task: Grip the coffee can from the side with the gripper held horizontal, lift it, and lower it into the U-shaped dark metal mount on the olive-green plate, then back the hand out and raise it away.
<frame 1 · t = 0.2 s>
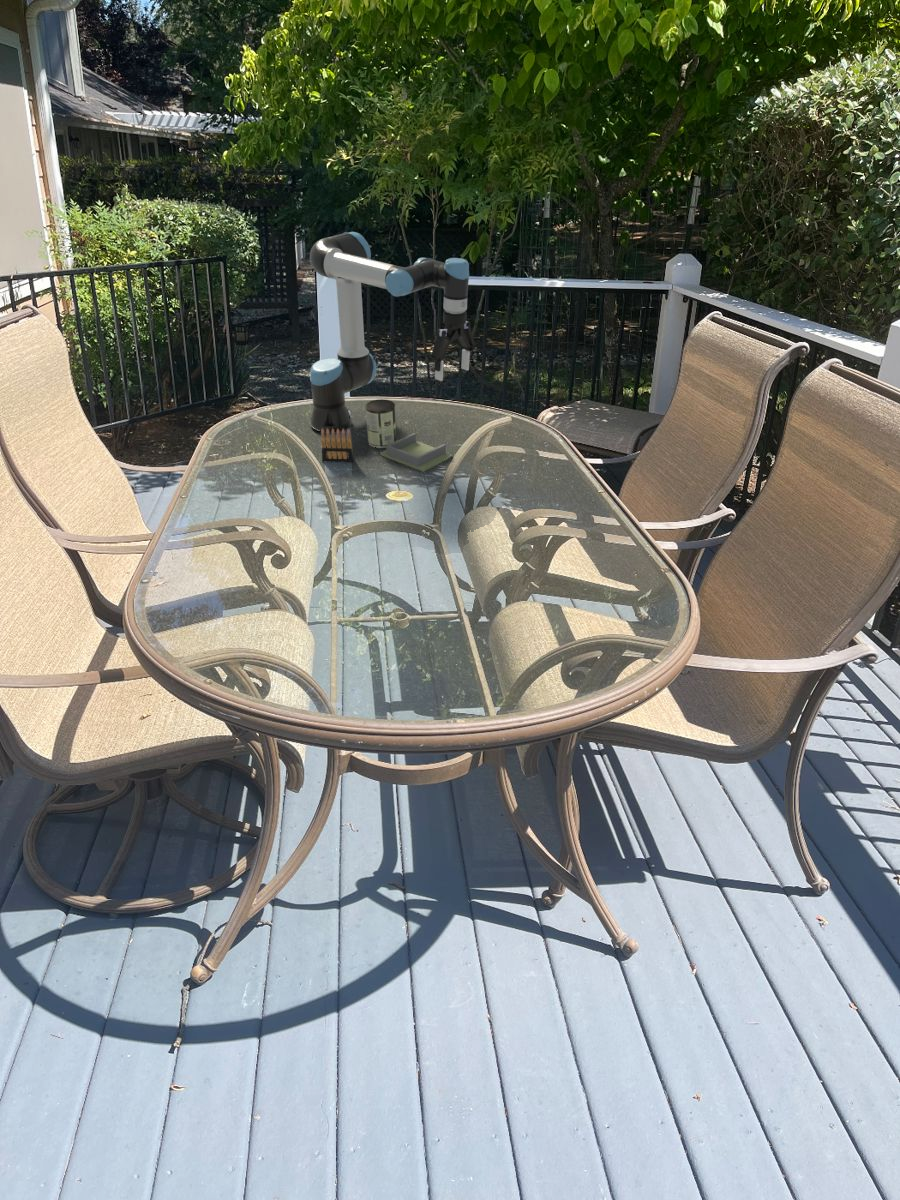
hand: (452, 374, 293), 27 cm above the table, tool pointing down, fingers open, 13 cm apart
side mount: (416, 455, 304), on the table
coffee can: (382, 442, 314), on the table
ammunition clip: (338, 461, 302), on the table
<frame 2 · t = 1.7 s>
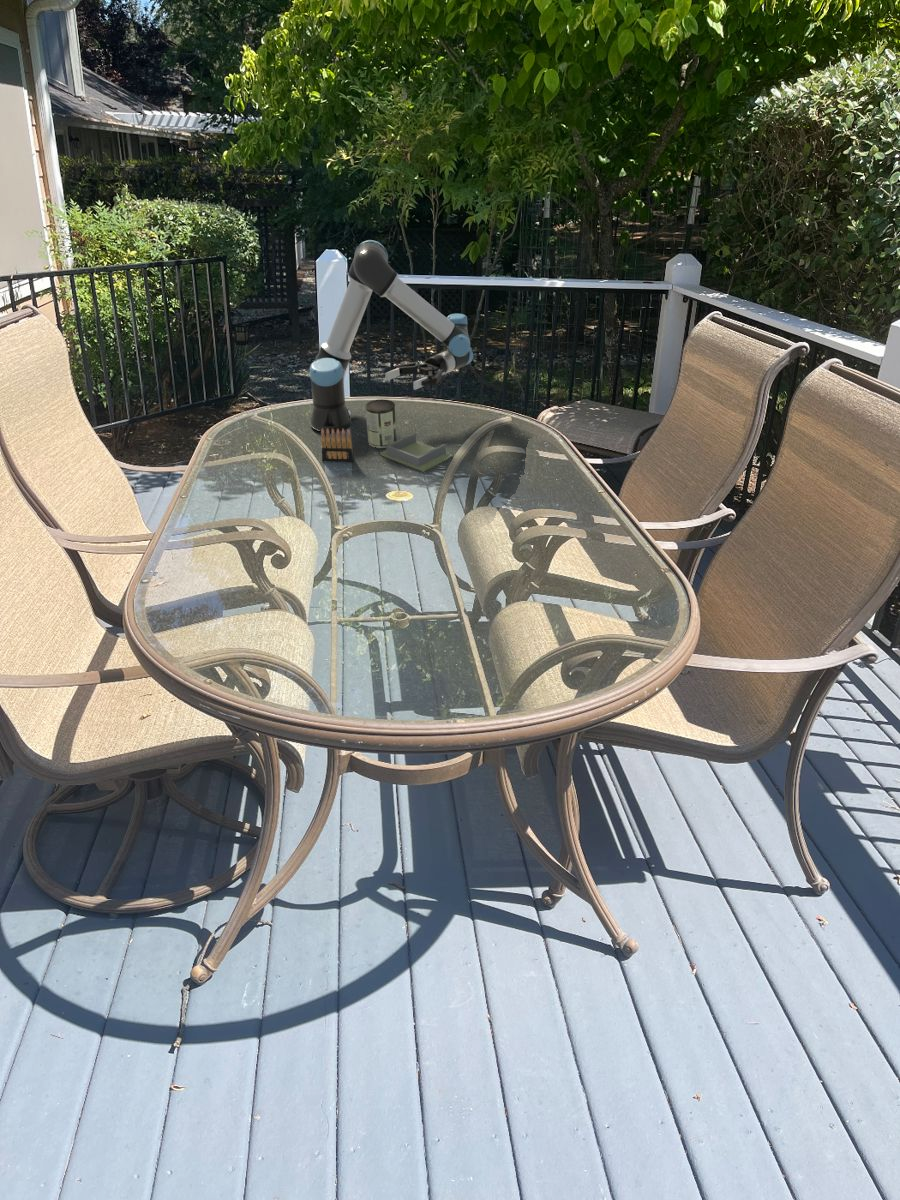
hand: (399, 381, 309), 20 cm above the table, tool horizontal, fingers open, 13 cm apart
nothing on the table moved.
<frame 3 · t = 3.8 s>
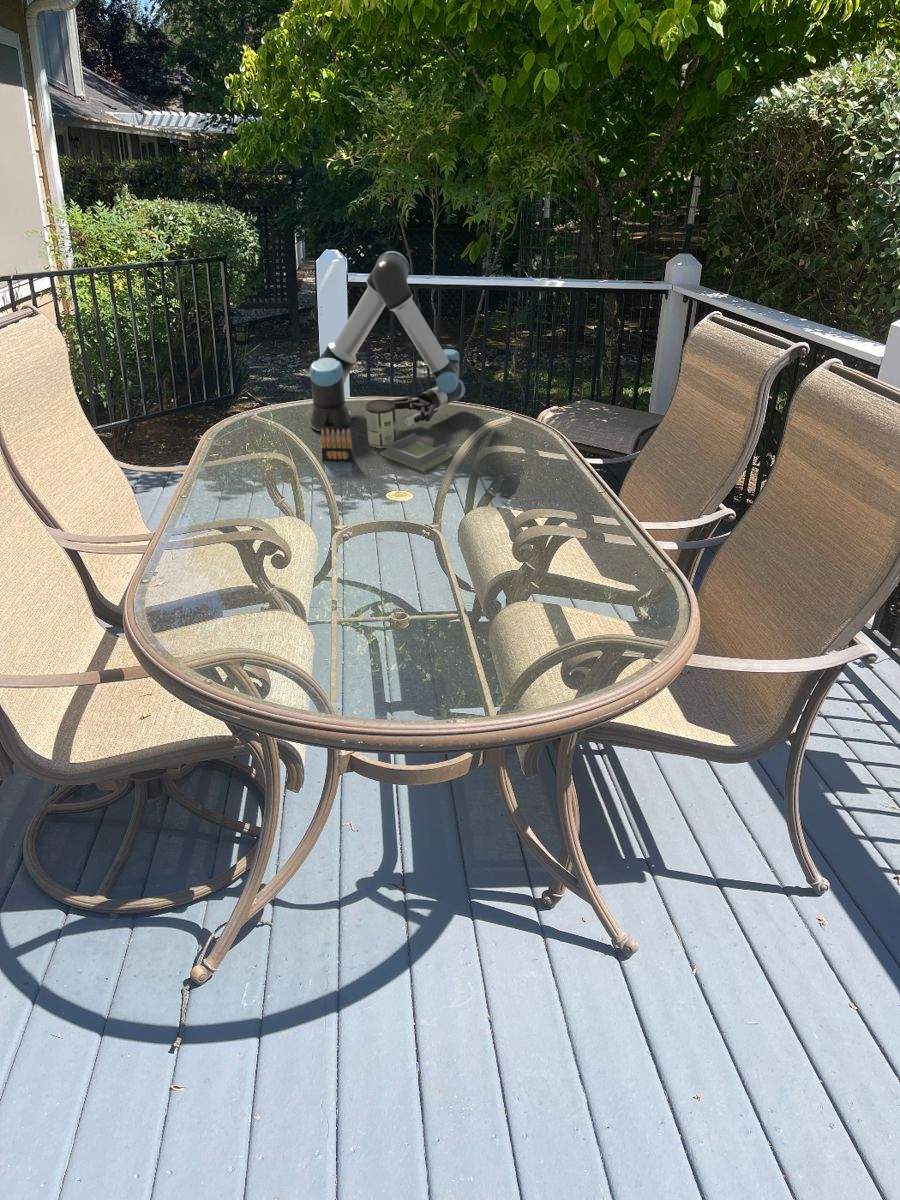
hand: (392, 417, 312), 8 cm above the table, tool horizontal, fingers open, 13 cm apart
nothing on the table moved.
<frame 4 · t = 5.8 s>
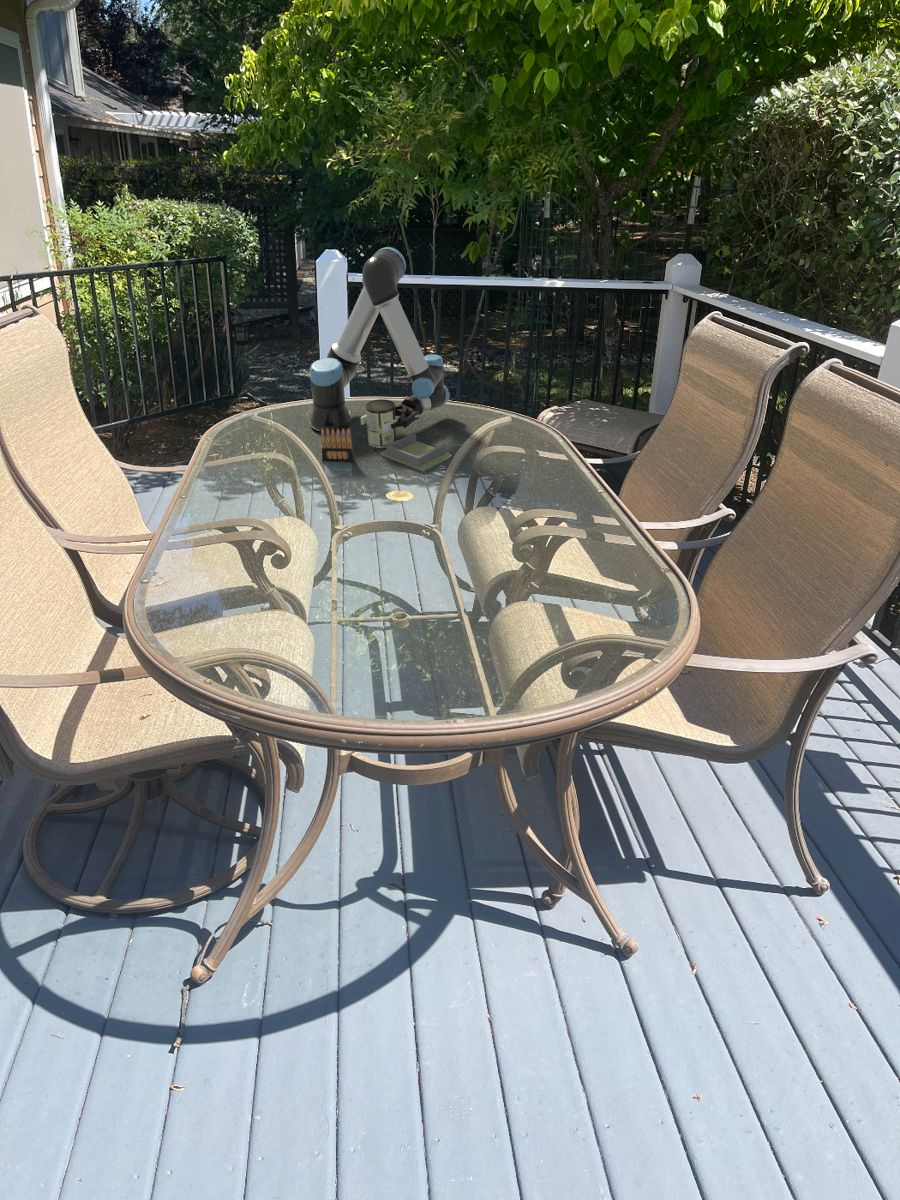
hand: (372, 424, 307), 8 cm above the table, tool horizontal, fingers closed on coffee can, 10 cm apart
coffee can: (382, 442, 314), on the table, touching gripper
everything else where it was.
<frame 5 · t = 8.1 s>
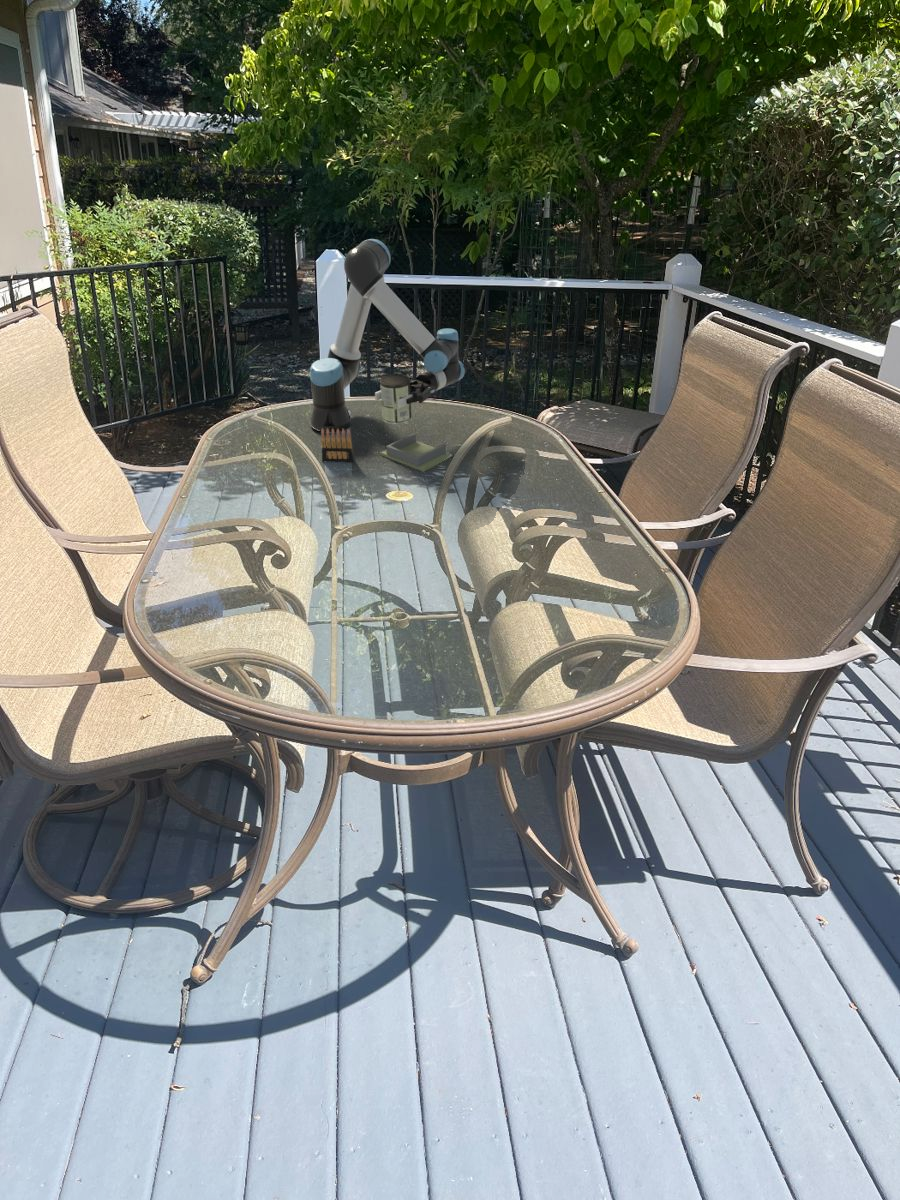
hand: (387, 400, 297), 19 cm above the table, tool horizontal, fingers closed on coffee can, 10 cm apart
coffee can: (397, 419, 305), point 10 cm above the table, touching gripper
everything else where it was.
when the fingers open (10 cm above the table, at t = 10.7 s): coffee can moves 2 cm, resting on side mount.
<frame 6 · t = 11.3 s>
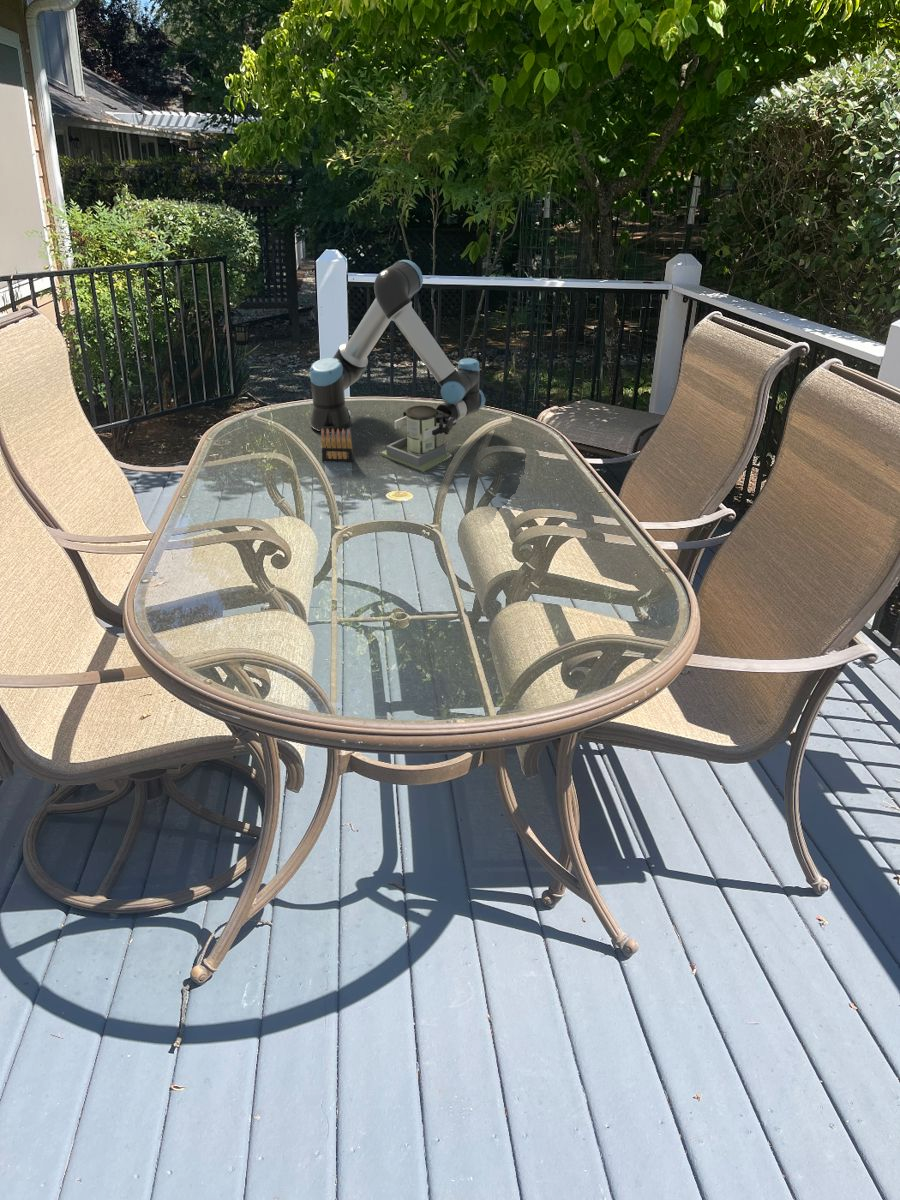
hand: (409, 430, 297), 10 cm above the table, tool horizontal, fingers open, 13 cm apart
coffee can: (421, 450, 303), point 2 cm above the table, touching gripper, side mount
everything else where it was.
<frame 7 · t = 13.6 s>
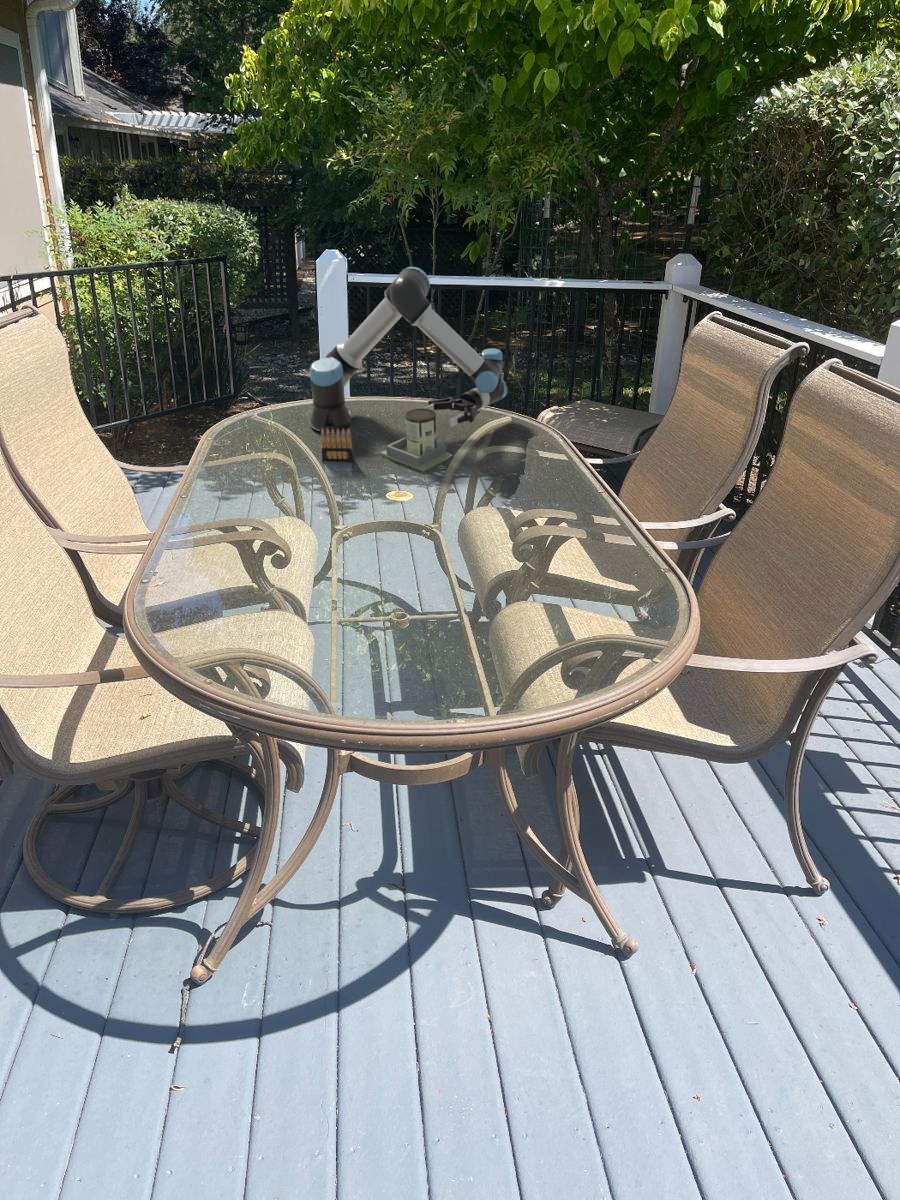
hand: (435, 418, 305), 11 cm above the table, tool horizontal, fingers open, 13 cm apart
coffee can: (421, 453, 304), point 1 cm above the table, touching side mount
everything else where it was.
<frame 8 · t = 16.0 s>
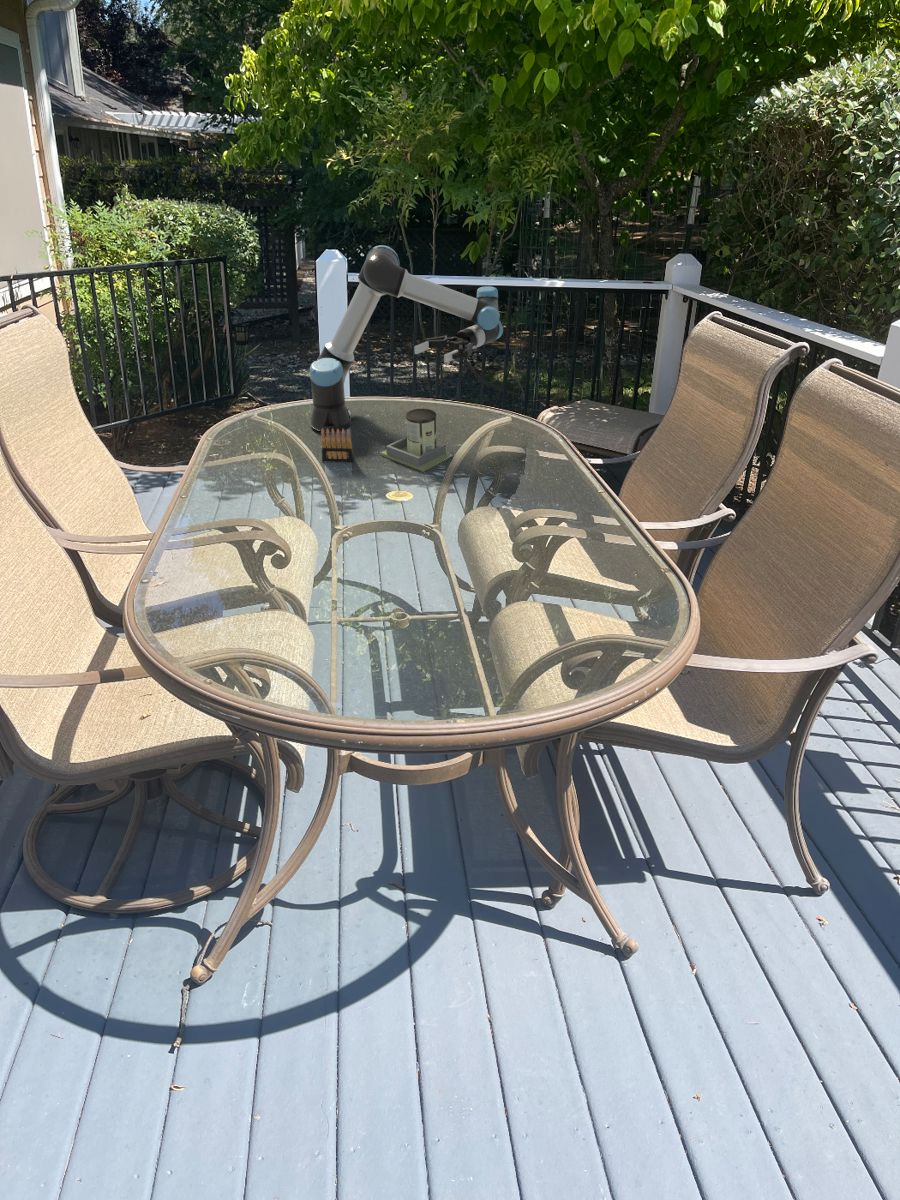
hand: (429, 354, 301), 30 cm above the table, tool horizontal, fingers open, 13 cm apart
nothing on the table moved.
at the end: coffee can 1.6 cm off-centre on the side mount, point 0.8 cm above the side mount's base; coffee can tilted 1°; the gripper is holding nothing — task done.
